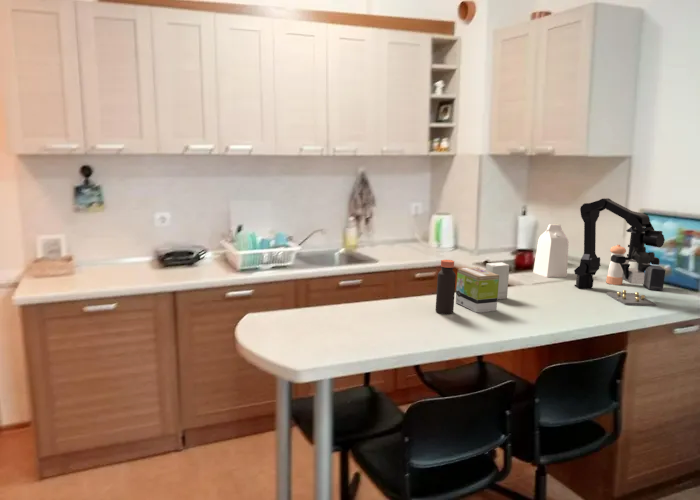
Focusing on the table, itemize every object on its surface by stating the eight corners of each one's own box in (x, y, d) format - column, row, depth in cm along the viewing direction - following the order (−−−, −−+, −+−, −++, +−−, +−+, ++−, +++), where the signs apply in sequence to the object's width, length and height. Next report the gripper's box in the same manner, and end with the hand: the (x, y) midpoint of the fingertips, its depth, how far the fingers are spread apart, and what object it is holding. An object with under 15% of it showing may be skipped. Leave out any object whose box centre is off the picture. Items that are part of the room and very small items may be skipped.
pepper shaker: (606, 283, 288) (610, 245, 285) (605, 281, 295) (610, 243, 292) (622, 285, 286) (627, 246, 282) (622, 282, 292) (626, 244, 289)
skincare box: (499, 295, 257) (502, 261, 254) (507, 299, 251) (510, 264, 249) (482, 296, 254) (485, 262, 251) (490, 300, 248) (493, 265, 246)
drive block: (631, 283, 252) (632, 272, 251) (622, 279, 261) (623, 267, 260) (643, 284, 252) (644, 272, 251) (633, 279, 261) (634, 268, 260)
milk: (552, 271, 313) (557, 222, 309) (566, 276, 303) (571, 225, 298) (533, 272, 310) (537, 223, 305) (546, 277, 299) (551, 226, 294)
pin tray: (625, 304, 249) (625, 298, 248) (606, 294, 266) (607, 288, 266) (655, 305, 249) (656, 299, 248) (635, 295, 267) (635, 289, 266)
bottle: (449, 315, 223) (452, 263, 219) (432, 312, 226) (435, 260, 223) (456, 311, 229) (459, 260, 225) (439, 308, 232) (442, 258, 229)
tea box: (454, 303, 241) (456, 267, 239) (474, 301, 245) (477, 266, 243) (476, 313, 228) (478, 275, 225) (497, 311, 232) (500, 274, 229)
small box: (663, 291, 277) (666, 269, 275) (648, 290, 278) (651, 268, 276) (656, 286, 287) (659, 265, 285) (642, 285, 289) (645, 264, 287)
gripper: (624, 246, 245) (619, 282, 248) (668, 247, 246) (663, 284, 248) (612, 241, 256) (608, 276, 259) (654, 243, 257) (650, 278, 259)
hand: (632, 279), depth 256 cm, fingers closed on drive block, 5 cm apart
